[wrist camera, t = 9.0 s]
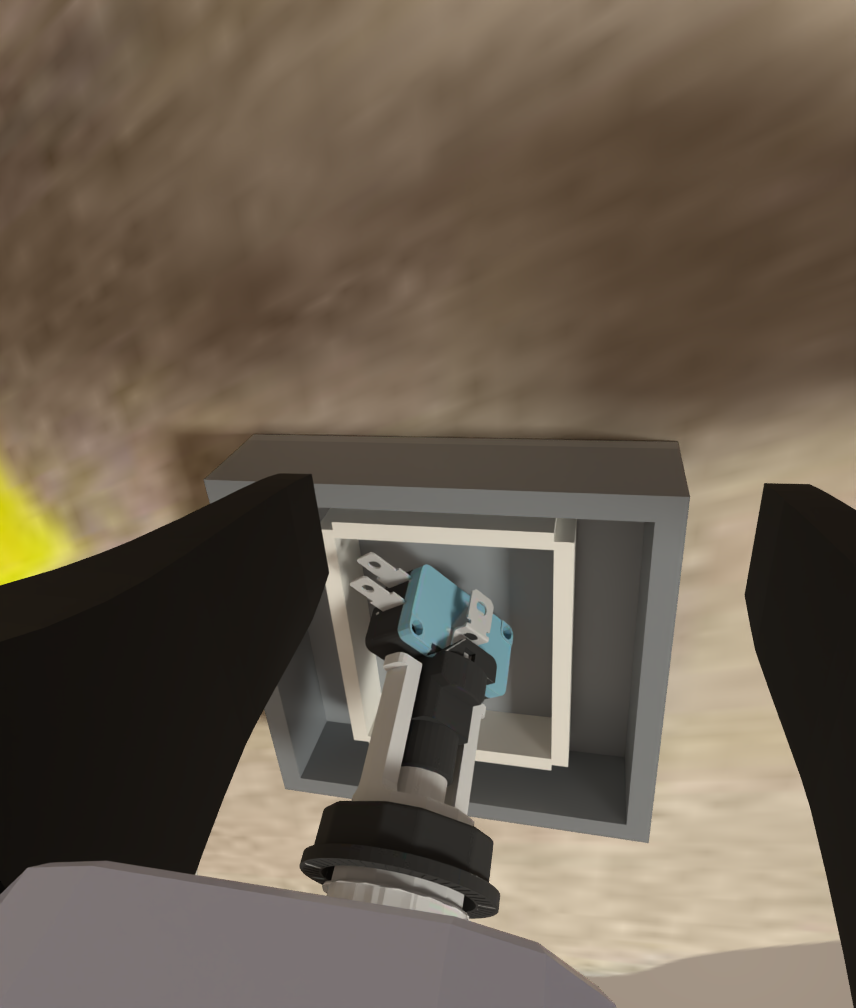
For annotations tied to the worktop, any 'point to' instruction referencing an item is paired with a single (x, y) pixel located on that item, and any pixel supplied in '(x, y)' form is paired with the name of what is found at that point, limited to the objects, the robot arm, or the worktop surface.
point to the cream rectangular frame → (341, 528)
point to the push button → (419, 752)
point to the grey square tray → (506, 607)
